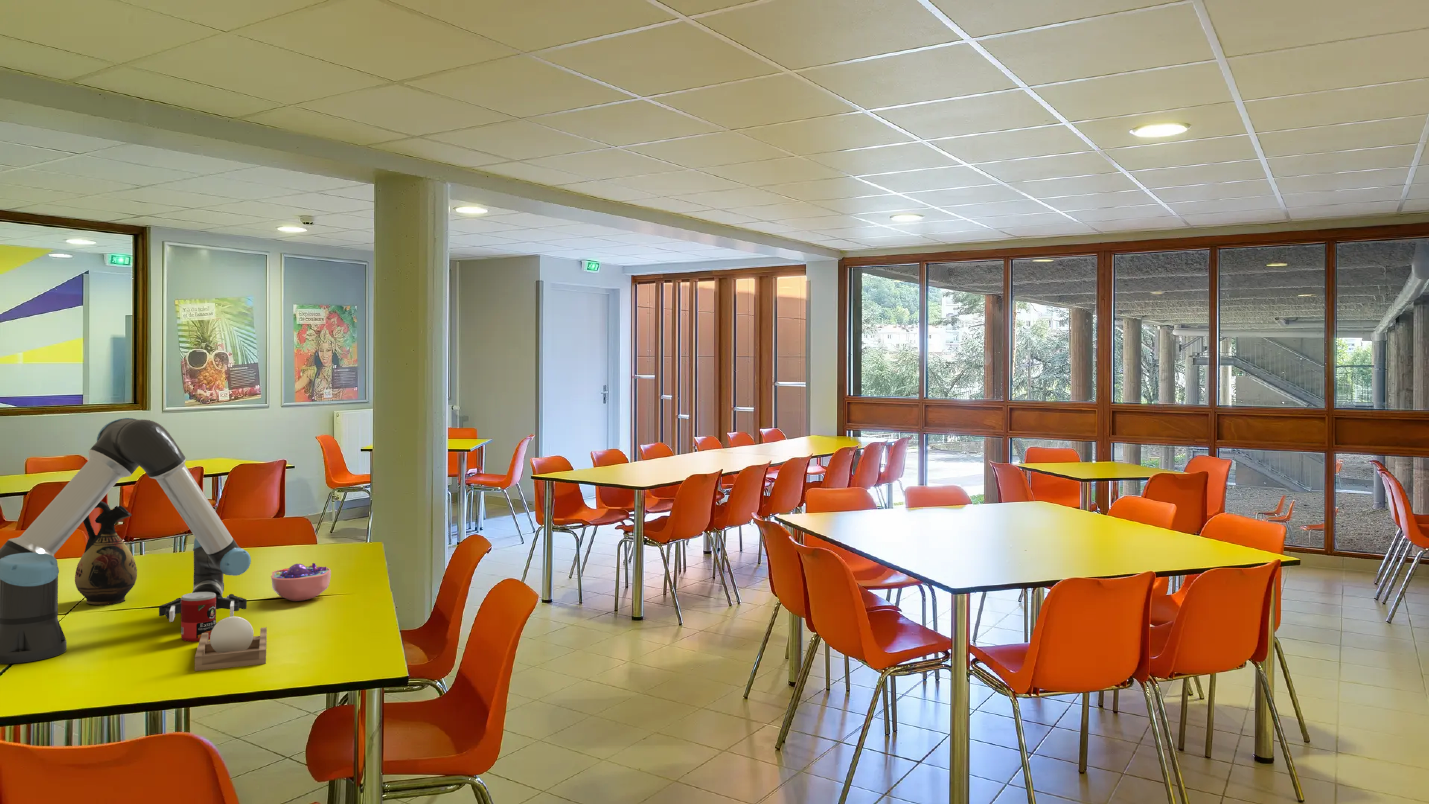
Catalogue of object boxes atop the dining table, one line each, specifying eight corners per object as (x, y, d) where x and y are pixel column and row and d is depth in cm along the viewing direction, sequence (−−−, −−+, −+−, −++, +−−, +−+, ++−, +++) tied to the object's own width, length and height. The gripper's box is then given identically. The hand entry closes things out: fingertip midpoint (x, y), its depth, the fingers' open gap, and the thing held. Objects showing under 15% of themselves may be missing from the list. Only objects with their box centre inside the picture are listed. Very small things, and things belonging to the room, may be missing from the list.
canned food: (200, 643, 230) (201, 599, 230) (173, 640, 232) (173, 597, 231) (223, 635, 237) (223, 592, 237) (196, 633, 239) (196, 590, 239)
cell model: (341, 591, 289) (341, 556, 289) (316, 606, 269) (316, 568, 269) (287, 591, 289) (287, 555, 289) (257, 606, 269) (257, 568, 269)
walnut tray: (265, 663, 213) (265, 649, 213) (194, 671, 207) (194, 656, 207) (266, 639, 233) (266, 627, 233) (201, 646, 227) (201, 633, 227)
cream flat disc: (253, 653, 217) (253, 615, 217) (209, 658, 213) (210, 619, 213) (253, 652, 218) (253, 614, 218) (210, 656, 214) (210, 618, 214)
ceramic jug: (142, 594, 282) (142, 497, 282) (130, 605, 268) (130, 503, 268) (76, 598, 276) (77, 498, 276) (61, 610, 262) (61, 505, 261)
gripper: (256, 606, 260) (256, 623, 241) (153, 614, 249) (144, 633, 230) (256, 579, 260) (256, 595, 241) (154, 587, 249) (144, 603, 230)
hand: (201, 614), depth 236 cm, fingers open, 13 cm apart
